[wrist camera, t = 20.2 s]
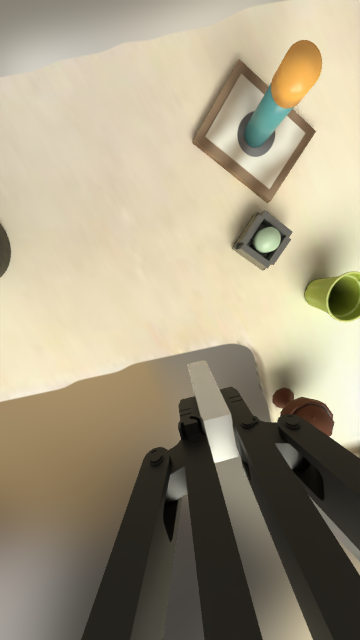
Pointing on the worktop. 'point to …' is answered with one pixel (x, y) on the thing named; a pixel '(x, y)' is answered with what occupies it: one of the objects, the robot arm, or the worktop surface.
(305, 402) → the ice cream bowl
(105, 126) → the worktop surface
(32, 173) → the worktop surface
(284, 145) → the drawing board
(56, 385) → the worktop surface
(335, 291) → the plant pot
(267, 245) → the button
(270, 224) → the button housing
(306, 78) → the orange-topped post
